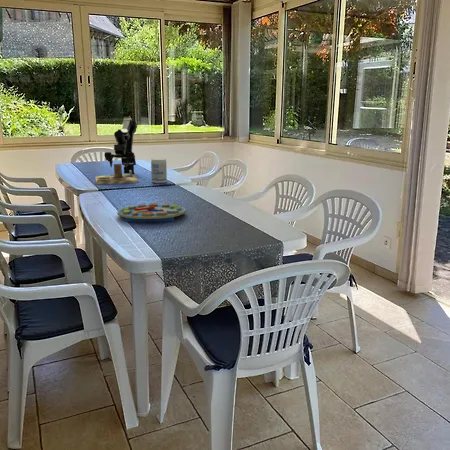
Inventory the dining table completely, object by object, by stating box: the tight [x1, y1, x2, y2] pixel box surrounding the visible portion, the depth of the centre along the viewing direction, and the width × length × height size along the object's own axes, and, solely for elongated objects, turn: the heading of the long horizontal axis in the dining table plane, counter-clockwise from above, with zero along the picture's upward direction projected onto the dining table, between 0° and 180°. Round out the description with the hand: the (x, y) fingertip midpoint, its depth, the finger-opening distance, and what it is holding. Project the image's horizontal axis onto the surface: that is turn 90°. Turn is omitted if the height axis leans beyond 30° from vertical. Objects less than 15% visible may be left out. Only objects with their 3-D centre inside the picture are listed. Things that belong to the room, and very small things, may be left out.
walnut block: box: [113, 163, 123, 178], centre depth 279 cm, size 4×4×10 cm
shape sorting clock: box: [116, 202, 186, 223], centre depth 201 cm, size 31×30×6 cm
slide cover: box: [122, 170, 134, 176], centre depth 292 cm, size 7×7×3 cm
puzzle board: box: [95, 174, 139, 186], centre depth 285 cm, size 26×22×3 cm
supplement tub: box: [150, 157, 168, 184], centre depth 279 cm, size 10×10×15 cm
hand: (118, 167), depth 279 cm, fingers open, 9 cm apart
